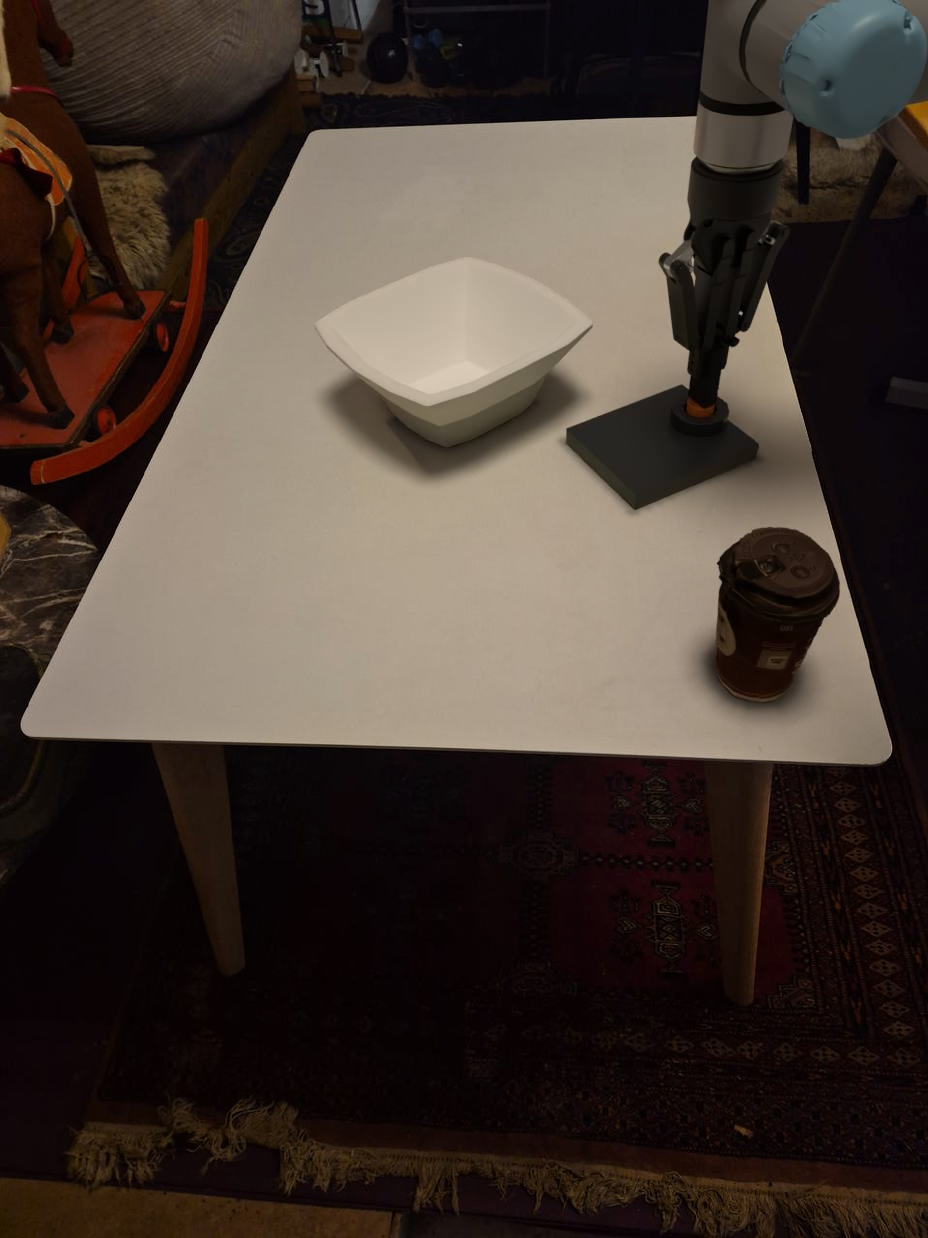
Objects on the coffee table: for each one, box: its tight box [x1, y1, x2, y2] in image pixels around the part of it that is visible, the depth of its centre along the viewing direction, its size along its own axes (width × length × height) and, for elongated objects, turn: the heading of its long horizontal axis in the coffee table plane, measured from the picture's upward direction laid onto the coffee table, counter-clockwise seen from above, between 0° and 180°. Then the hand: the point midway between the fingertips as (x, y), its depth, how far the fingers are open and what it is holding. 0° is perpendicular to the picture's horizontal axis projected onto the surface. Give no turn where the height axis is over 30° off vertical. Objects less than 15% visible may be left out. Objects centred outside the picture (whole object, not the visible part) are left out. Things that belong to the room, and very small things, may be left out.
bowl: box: [313, 255, 594, 448], centre depth 96 cm, size 24×25×10 cm
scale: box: [565, 384, 761, 510], centre depth 89 cm, size 15×13×4 cm
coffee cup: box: [714, 526, 841, 703], centre depth 66 cm, size 9×8×13 cm
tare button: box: [686, 398, 715, 418], centre depth 89 cm, size 3×3×2 cm
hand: (701, 399), depth 89 cm, fingers closed
